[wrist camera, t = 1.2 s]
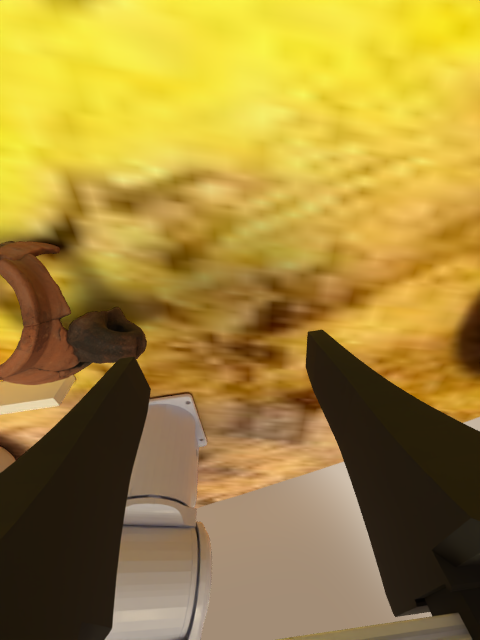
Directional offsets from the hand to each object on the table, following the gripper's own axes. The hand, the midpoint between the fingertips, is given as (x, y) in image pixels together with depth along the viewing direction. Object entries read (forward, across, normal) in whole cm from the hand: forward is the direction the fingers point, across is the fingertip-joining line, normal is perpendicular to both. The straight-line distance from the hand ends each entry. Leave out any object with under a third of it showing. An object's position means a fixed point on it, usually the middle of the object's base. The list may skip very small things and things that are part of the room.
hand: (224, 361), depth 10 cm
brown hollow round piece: (+10, +11, +1) cm, 15 cm away
